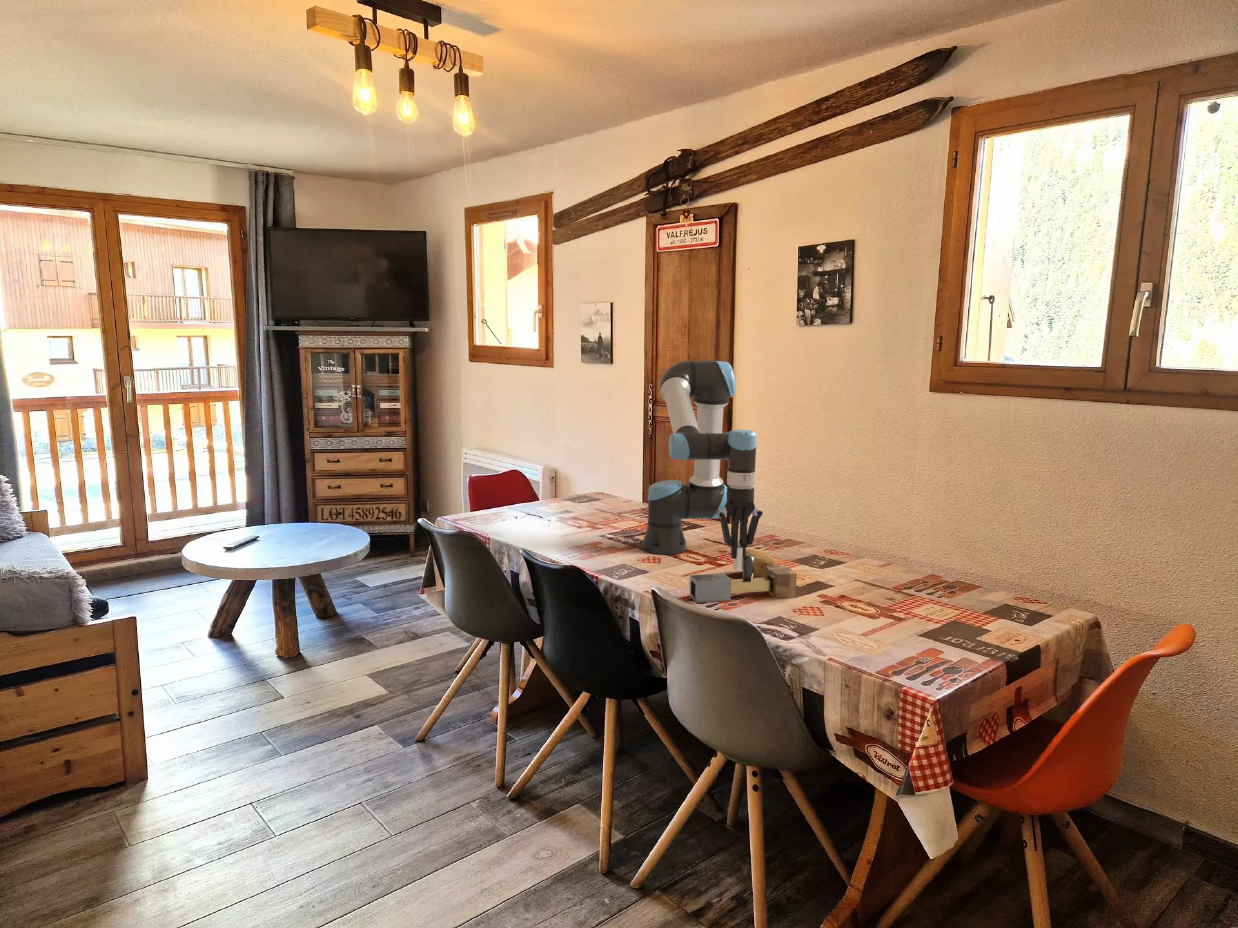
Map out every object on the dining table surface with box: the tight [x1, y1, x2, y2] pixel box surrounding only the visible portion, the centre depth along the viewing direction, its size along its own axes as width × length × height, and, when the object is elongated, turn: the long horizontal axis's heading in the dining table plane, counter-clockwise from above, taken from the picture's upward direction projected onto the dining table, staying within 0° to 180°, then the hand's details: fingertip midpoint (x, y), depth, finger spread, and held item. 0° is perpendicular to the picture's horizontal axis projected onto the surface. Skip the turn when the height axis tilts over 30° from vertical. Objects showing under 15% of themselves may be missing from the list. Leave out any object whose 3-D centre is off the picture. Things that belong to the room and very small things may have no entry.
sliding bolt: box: [731, 555, 770, 594], centre depth 216 cm, size 3×19×10 cm, turn 103°
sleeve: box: [688, 572, 732, 604], centre depth 215 cm, size 6×10×6 cm, turn 103°
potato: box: [742, 548, 779, 578], centre depth 234 cm, size 10×14×8 cm
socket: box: [765, 564, 798, 600], centre depth 220 cm, size 8×6×7 cm
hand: (737, 569), depth 216 cm, fingers closed
